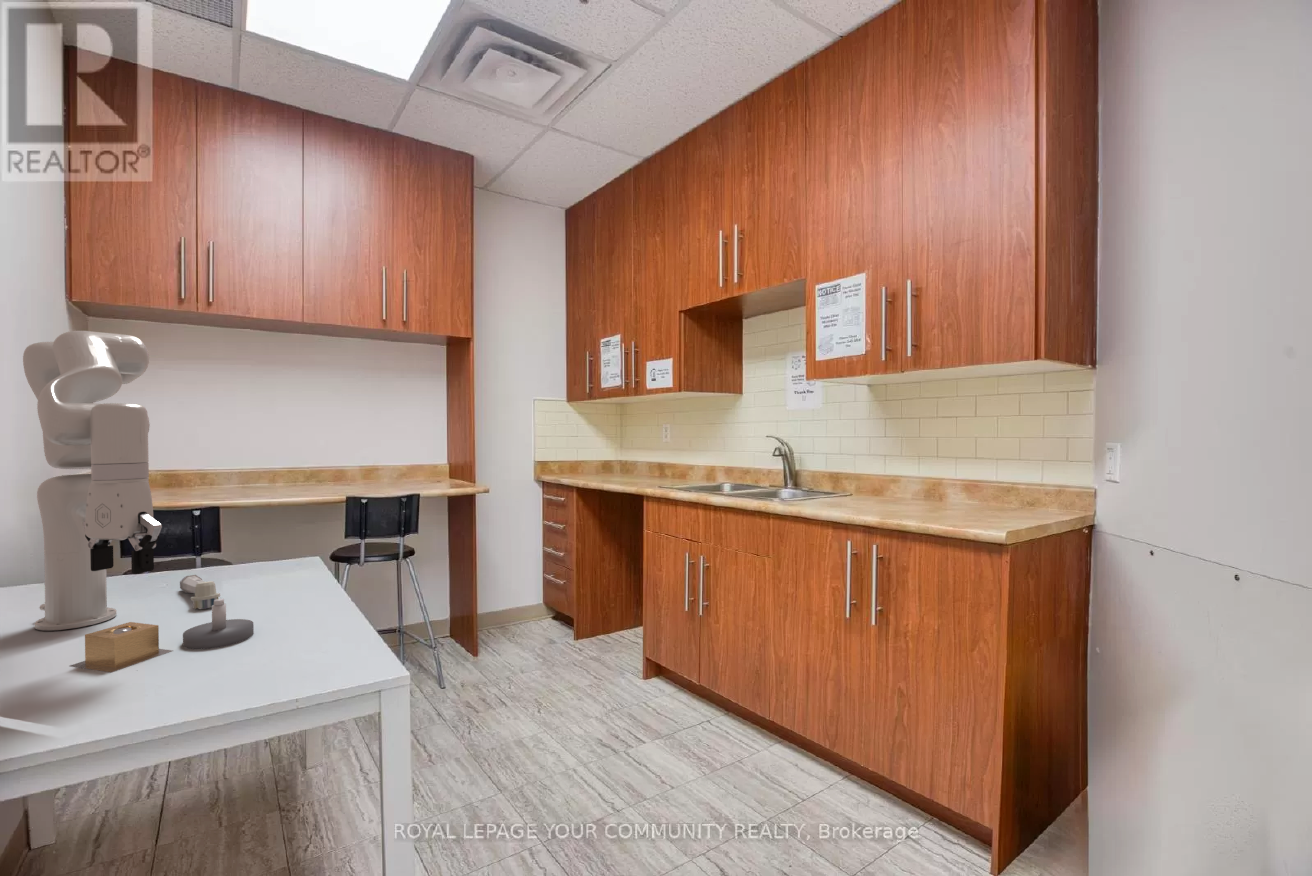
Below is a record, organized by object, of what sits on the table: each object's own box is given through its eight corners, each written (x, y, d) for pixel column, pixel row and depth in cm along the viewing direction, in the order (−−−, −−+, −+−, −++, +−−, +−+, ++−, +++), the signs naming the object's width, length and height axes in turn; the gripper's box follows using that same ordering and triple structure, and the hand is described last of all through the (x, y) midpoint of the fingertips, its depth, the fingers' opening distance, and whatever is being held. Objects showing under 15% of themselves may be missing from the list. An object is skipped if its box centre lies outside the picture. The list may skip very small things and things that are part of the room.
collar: (85, 663, 103) (84, 634, 103) (130, 649, 110) (130, 622, 109) (114, 667, 101) (114, 638, 101) (158, 652, 108) (158, 625, 108)
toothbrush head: (201, 573, 156) (221, 576, 139) (202, 599, 155) (222, 605, 138) (175, 576, 152) (193, 580, 135) (176, 603, 151) (194, 610, 134)
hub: (168, 651, 111) (167, 605, 111) (224, 631, 122) (224, 590, 122) (213, 657, 108) (212, 610, 108) (267, 636, 119) (266, 594, 119)
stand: (68, 671, 102) (68, 636, 102) (133, 650, 111) (133, 618, 111) (111, 678, 99) (110, 642, 99) (173, 656, 109) (173, 623, 109)
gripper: (59, 474, 103) (61, 573, 103) (133, 475, 99) (135, 578, 99) (109, 472, 111) (111, 564, 111) (179, 472, 106) (181, 568, 106)
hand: (122, 570), depth 105 cm, fingers open, 9 cm apart
